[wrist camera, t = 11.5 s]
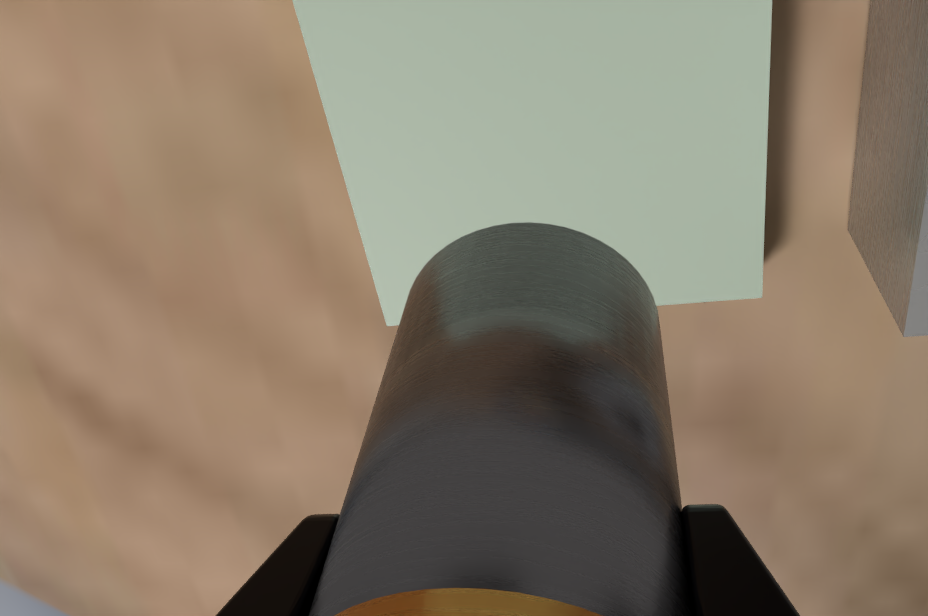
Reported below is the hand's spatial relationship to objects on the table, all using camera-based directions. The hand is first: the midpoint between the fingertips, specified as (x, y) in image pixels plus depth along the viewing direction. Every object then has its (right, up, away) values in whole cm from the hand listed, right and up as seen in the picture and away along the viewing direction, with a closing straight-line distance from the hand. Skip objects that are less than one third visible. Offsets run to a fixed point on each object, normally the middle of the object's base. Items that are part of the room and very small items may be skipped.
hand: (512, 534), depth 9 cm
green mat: (+1, +7, +9) cm, 11 cm away
